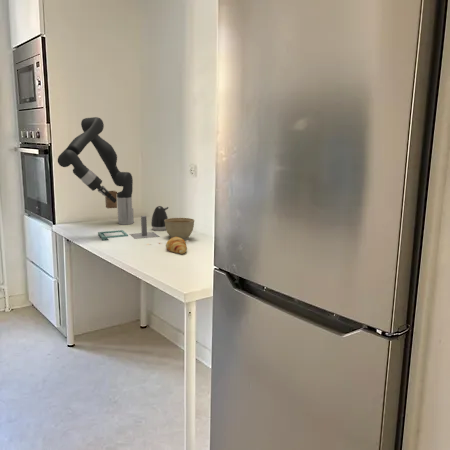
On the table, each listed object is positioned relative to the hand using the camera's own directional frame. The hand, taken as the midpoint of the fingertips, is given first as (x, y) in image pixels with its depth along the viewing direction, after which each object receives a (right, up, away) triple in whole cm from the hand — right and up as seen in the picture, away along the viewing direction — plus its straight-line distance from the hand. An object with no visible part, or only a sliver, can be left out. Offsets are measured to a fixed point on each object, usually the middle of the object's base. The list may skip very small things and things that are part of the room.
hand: (114, 200), depth 247 cm
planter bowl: (+37, -21, -3) cm, 42 cm away
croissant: (+37, -26, -26) cm, 52 cm away
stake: (+16, -20, +2) cm, 26 cm away
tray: (-2, -20, +3) cm, 20 cm away
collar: (-2, -4, 0) cm, 4 cm away
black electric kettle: (+23, -17, +19) cm, 34 cm away
